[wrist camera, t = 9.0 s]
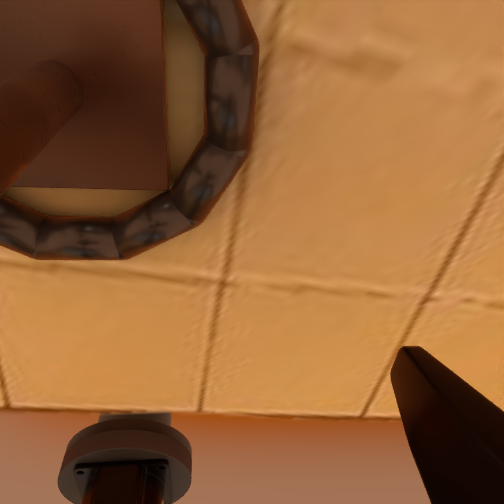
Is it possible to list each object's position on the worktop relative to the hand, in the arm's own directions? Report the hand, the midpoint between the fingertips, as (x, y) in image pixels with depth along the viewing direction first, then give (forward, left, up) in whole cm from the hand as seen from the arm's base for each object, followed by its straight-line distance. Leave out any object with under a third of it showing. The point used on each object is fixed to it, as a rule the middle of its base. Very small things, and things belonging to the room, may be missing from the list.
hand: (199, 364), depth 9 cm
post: (+3, +5, -12) cm, 13 cm away
